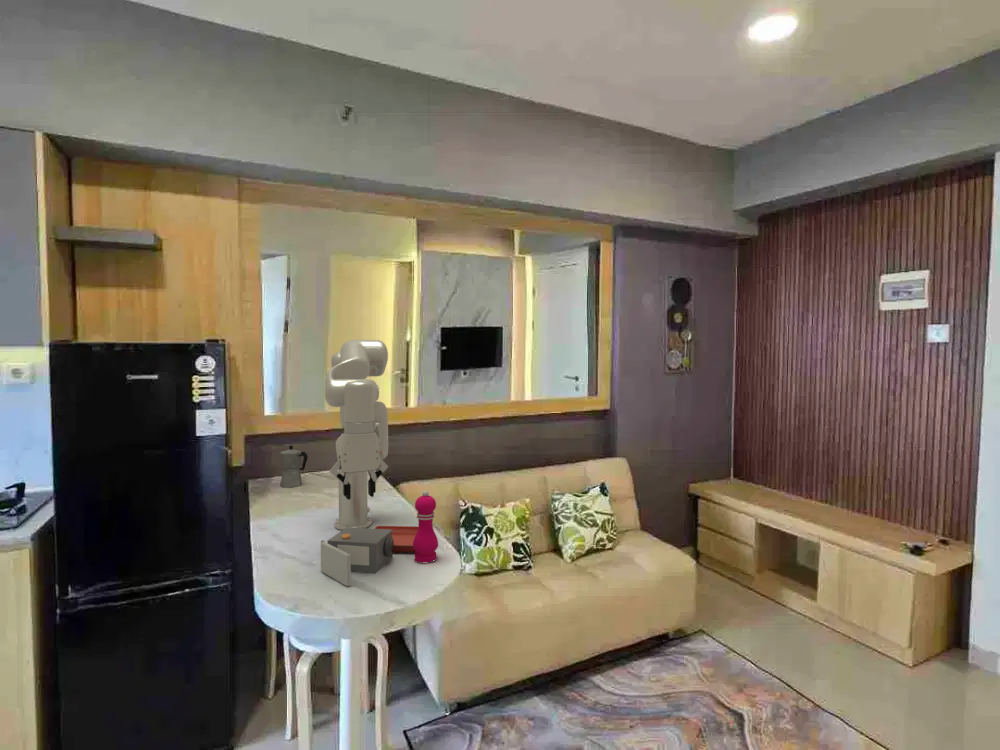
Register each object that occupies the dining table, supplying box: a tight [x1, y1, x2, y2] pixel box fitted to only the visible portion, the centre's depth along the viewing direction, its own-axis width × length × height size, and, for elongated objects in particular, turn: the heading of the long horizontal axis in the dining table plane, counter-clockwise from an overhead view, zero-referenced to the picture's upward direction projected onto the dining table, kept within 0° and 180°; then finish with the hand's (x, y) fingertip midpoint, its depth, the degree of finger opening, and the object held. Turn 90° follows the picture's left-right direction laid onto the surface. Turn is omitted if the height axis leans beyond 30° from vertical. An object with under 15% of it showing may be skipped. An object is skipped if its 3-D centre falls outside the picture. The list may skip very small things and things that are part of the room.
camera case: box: [326, 527, 394, 574], centre depth 155 cm, size 12×15×9 cm
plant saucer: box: [374, 525, 418, 553], centre depth 171 cm, size 18×18×3 cm
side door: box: [320, 539, 352, 587], centre depth 145 cm, size 2×15×8 cm, turn 45°
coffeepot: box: [278, 445, 309, 489], centre depth 247 cm, size 15×9×18 cm, turn 70°
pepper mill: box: [413, 490, 439, 564], centre depth 158 cm, size 7×7×20 cm
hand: (359, 496), depth 145 cm, fingers open, 5 cm apart
